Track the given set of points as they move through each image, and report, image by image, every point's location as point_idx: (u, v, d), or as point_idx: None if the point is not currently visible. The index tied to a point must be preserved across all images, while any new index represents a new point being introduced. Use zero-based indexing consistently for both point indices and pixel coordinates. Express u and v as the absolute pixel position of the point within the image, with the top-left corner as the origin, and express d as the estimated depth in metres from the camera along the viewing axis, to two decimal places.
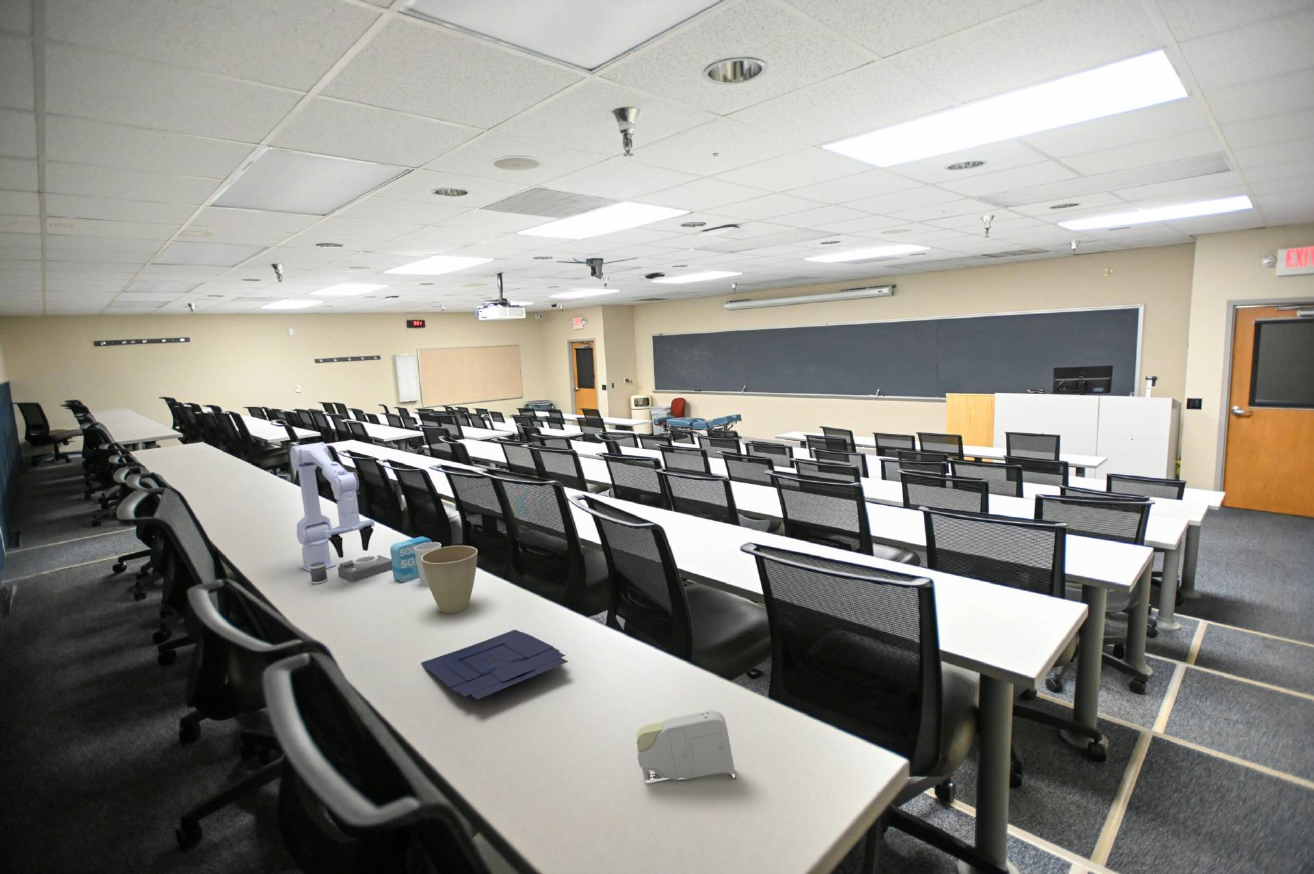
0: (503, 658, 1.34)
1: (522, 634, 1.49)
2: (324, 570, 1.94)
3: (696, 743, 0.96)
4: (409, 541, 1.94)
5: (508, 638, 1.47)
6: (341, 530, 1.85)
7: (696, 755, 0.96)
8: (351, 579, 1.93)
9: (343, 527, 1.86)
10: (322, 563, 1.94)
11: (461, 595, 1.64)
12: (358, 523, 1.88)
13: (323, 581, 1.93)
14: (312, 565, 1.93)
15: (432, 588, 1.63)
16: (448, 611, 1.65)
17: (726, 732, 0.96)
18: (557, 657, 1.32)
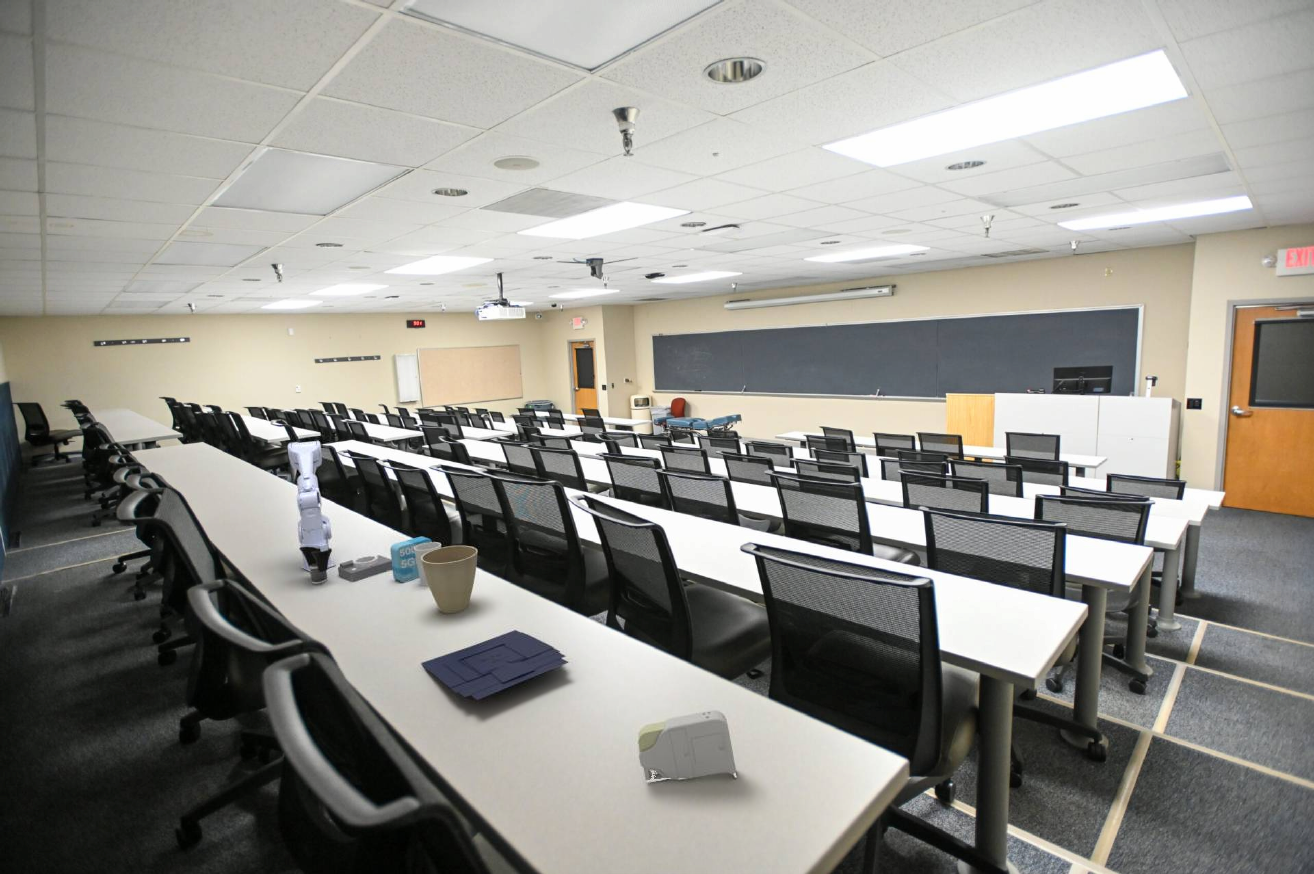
0: (503, 658, 1.34)
1: (522, 634, 1.49)
2: None
3: (697, 743, 0.96)
4: (409, 541, 1.94)
5: (508, 639, 1.47)
6: None
7: (697, 755, 0.96)
8: (351, 579, 1.93)
9: None
10: None
11: (461, 595, 1.64)
12: (309, 542, 1.90)
13: (323, 581, 1.93)
14: (312, 565, 1.93)
15: (432, 588, 1.63)
16: (448, 611, 1.65)
17: (727, 732, 0.96)
18: (558, 658, 1.32)
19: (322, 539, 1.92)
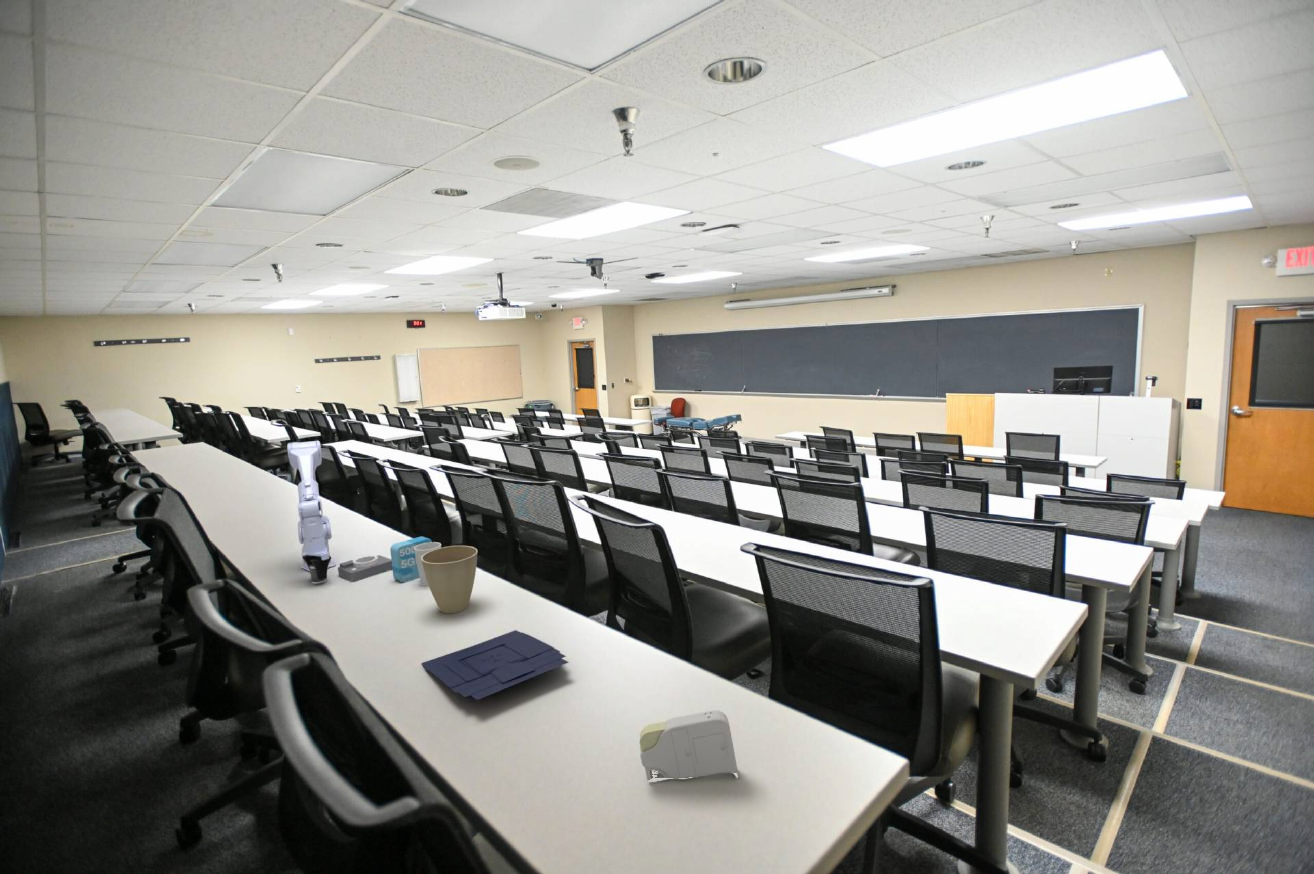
0: (503, 658, 1.34)
1: (523, 635, 1.49)
2: None
3: (699, 743, 0.96)
4: (409, 541, 1.94)
5: (508, 639, 1.47)
6: None
7: (698, 755, 0.96)
8: (351, 579, 1.93)
9: None
10: None
11: (461, 595, 1.64)
12: (310, 551, 1.90)
13: (323, 581, 1.93)
14: (312, 565, 1.93)
15: (432, 588, 1.63)
16: (448, 611, 1.65)
17: (729, 732, 0.96)
18: (558, 658, 1.31)
19: (323, 547, 1.93)
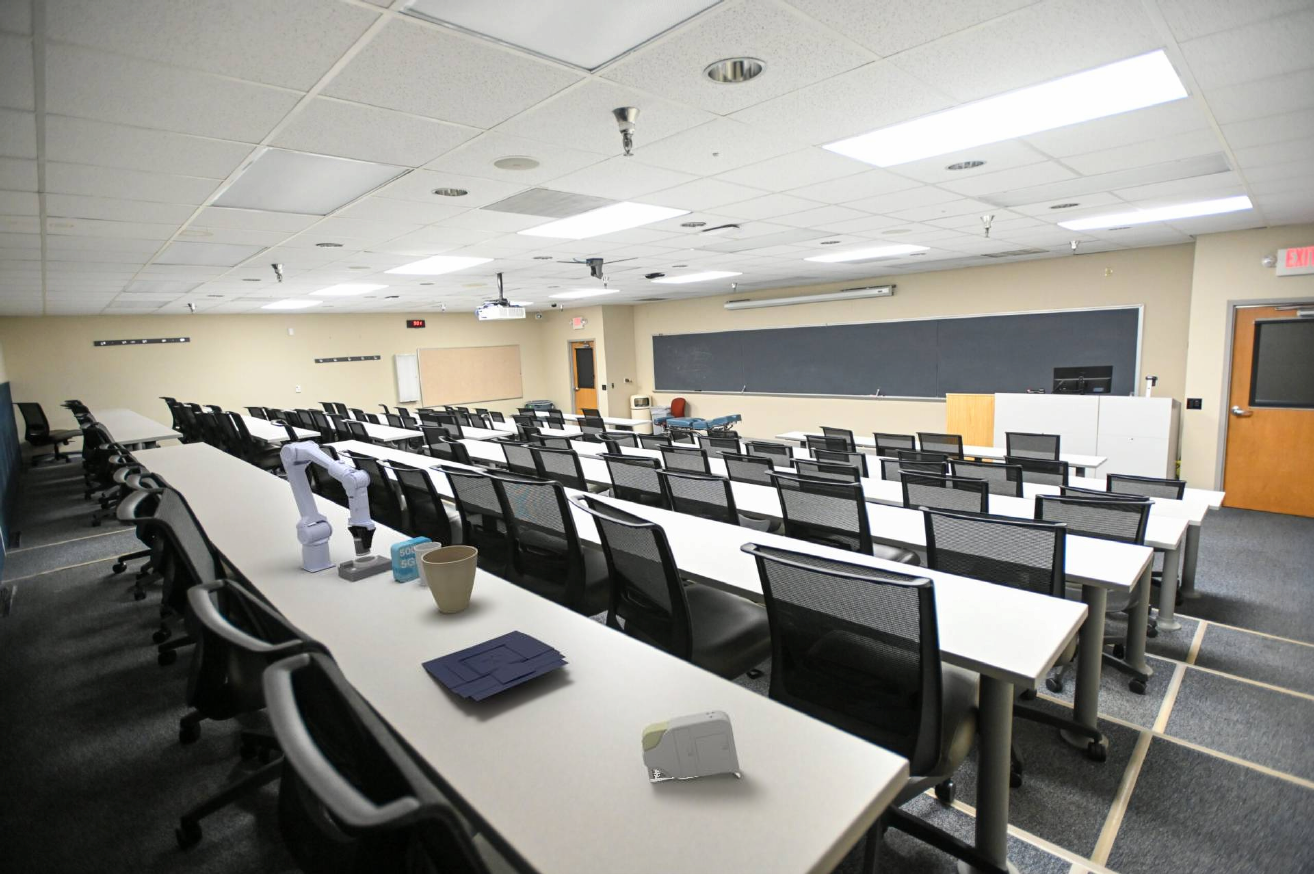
0: (504, 659, 1.34)
1: (523, 635, 1.48)
2: None
3: (701, 743, 0.96)
4: (409, 541, 1.94)
5: (509, 639, 1.47)
6: (350, 521, 2.00)
7: (701, 754, 0.96)
8: (351, 579, 1.93)
9: None
10: None
11: (461, 595, 1.64)
12: (356, 521, 1.96)
13: (366, 553, 1.99)
14: (355, 537, 1.98)
15: (432, 588, 1.63)
16: (448, 611, 1.65)
17: (731, 732, 0.96)
18: (558, 659, 1.31)
19: (368, 518, 1.99)
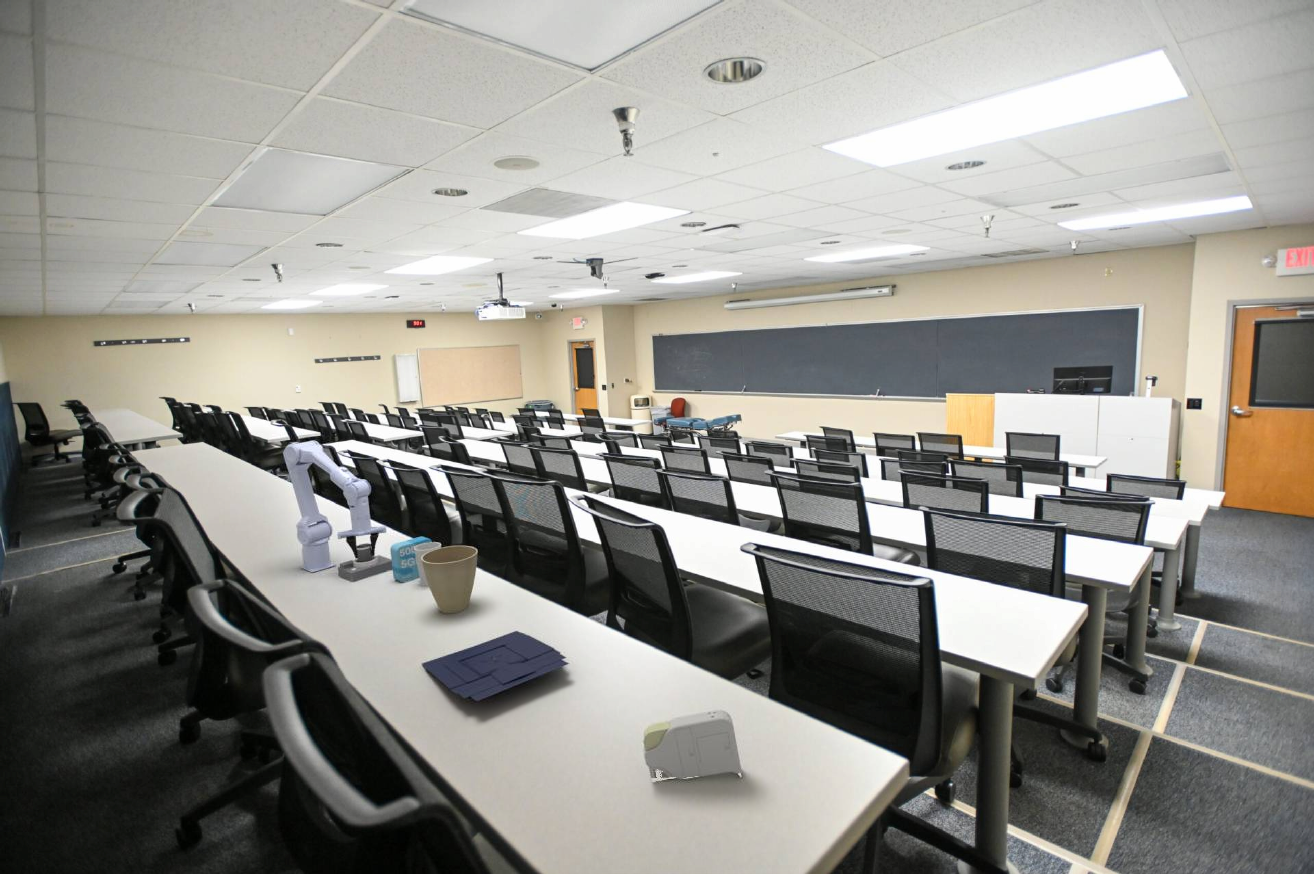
0: (504, 659, 1.34)
1: (523, 635, 1.48)
2: None
3: (702, 743, 0.96)
4: (409, 541, 1.94)
5: (509, 640, 1.46)
6: (349, 534, 1.96)
7: (702, 754, 0.96)
8: (351, 579, 1.93)
9: (352, 531, 1.97)
10: (366, 544, 2.01)
11: (461, 595, 1.64)
12: (366, 529, 1.98)
13: None
14: (362, 547, 1.98)
15: (432, 588, 1.63)
16: (448, 611, 1.65)
17: (733, 731, 0.96)
18: (558, 659, 1.31)
19: None
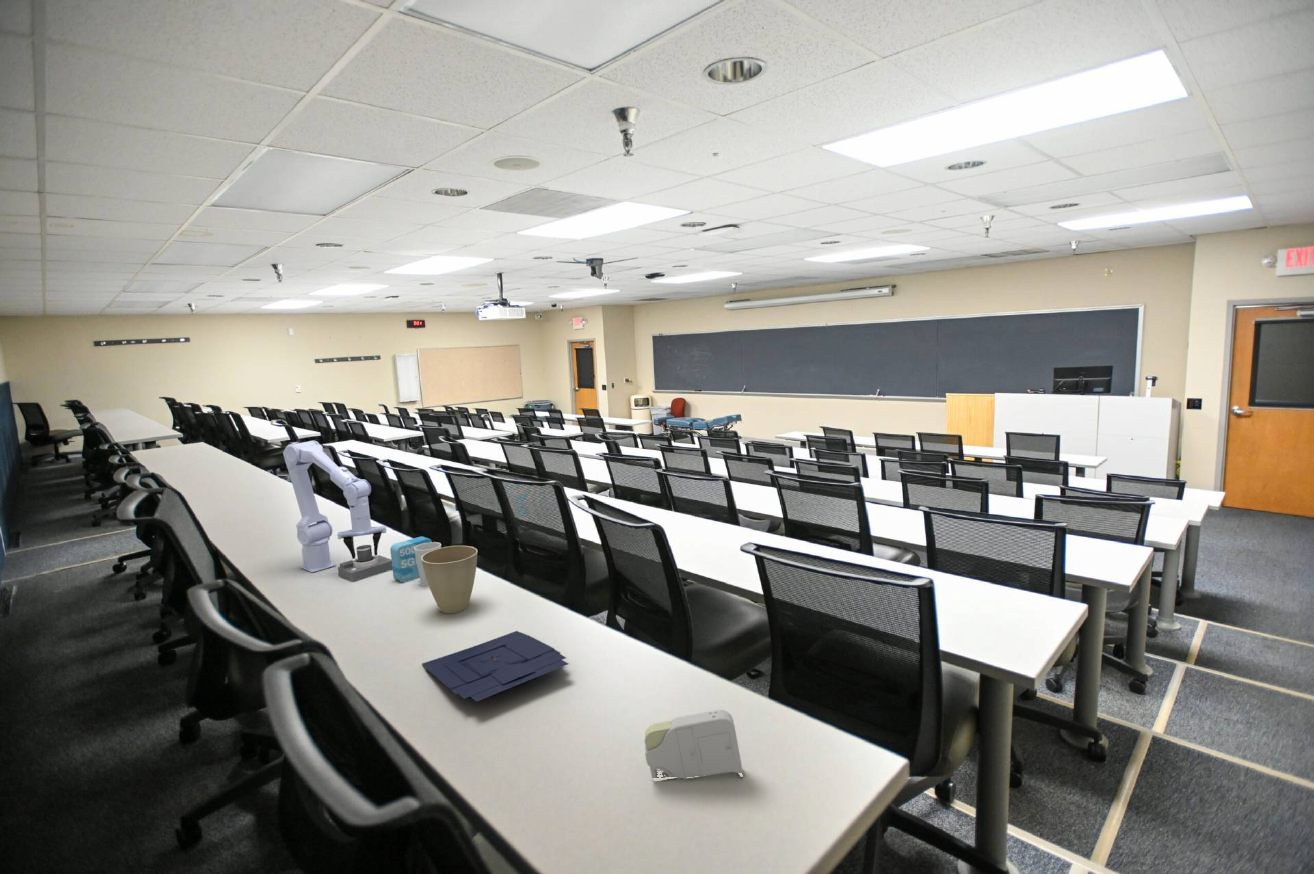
0: (504, 659, 1.34)
1: (523, 635, 1.48)
2: None
3: (704, 742, 0.96)
4: (409, 541, 1.94)
5: (509, 640, 1.46)
6: (349, 534, 1.96)
7: (703, 754, 0.96)
8: (351, 579, 1.93)
9: (352, 531, 1.97)
10: (366, 545, 2.01)
11: (461, 595, 1.64)
12: (366, 529, 1.98)
13: None
14: (362, 548, 1.98)
15: (432, 588, 1.63)
16: (448, 611, 1.65)
17: (734, 731, 0.96)
18: (558, 659, 1.31)
19: None
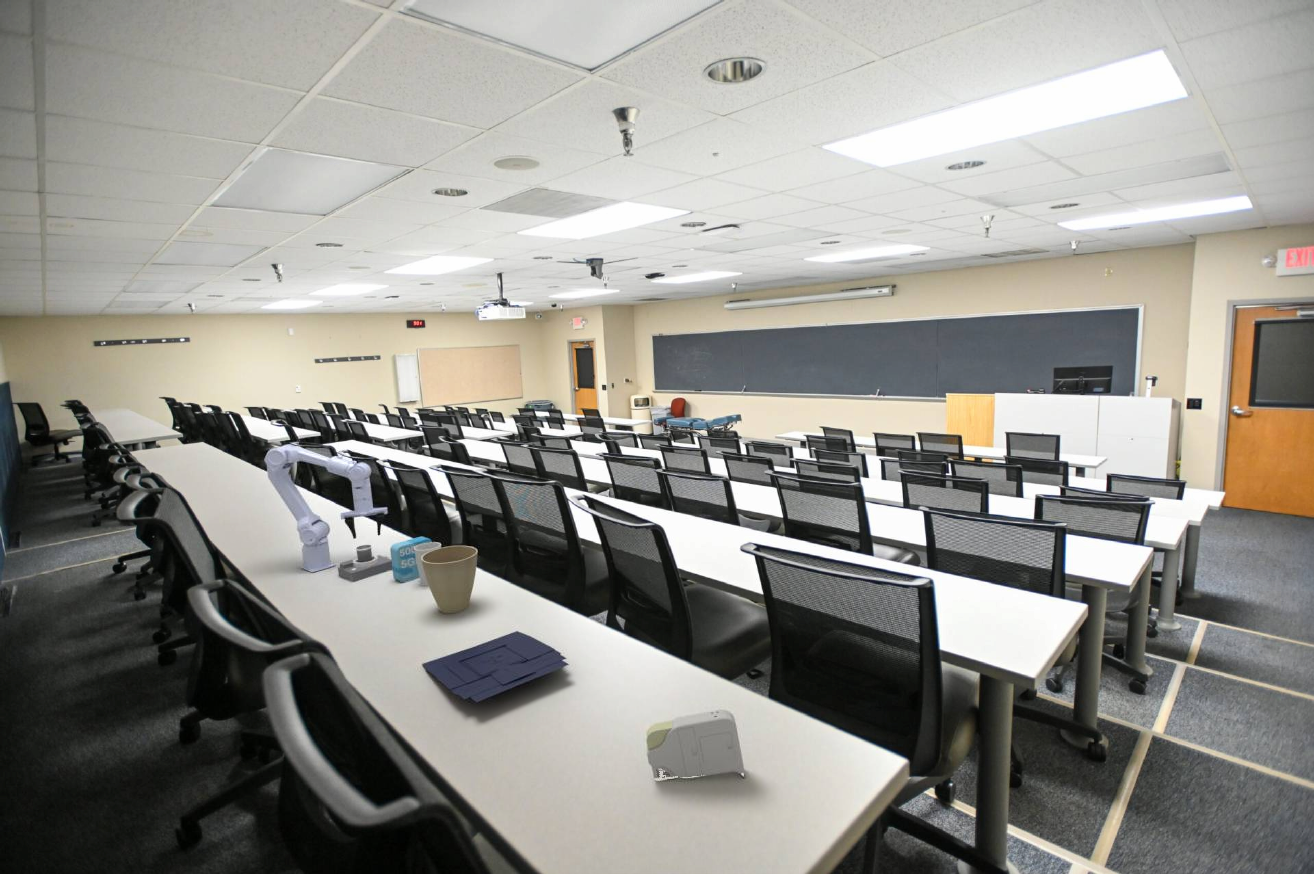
0: (504, 660, 1.34)
1: (524, 636, 1.48)
2: None
3: (705, 742, 0.96)
4: (409, 541, 1.94)
5: (509, 640, 1.46)
6: (352, 514, 2.05)
7: (705, 754, 0.96)
8: (351, 579, 1.93)
9: (355, 511, 2.05)
10: (366, 545, 2.01)
11: (461, 595, 1.64)
12: (368, 509, 2.06)
13: None
14: (362, 548, 1.98)
15: (432, 588, 1.63)
16: (448, 611, 1.65)
17: (736, 731, 0.96)
18: (558, 660, 1.31)
19: None
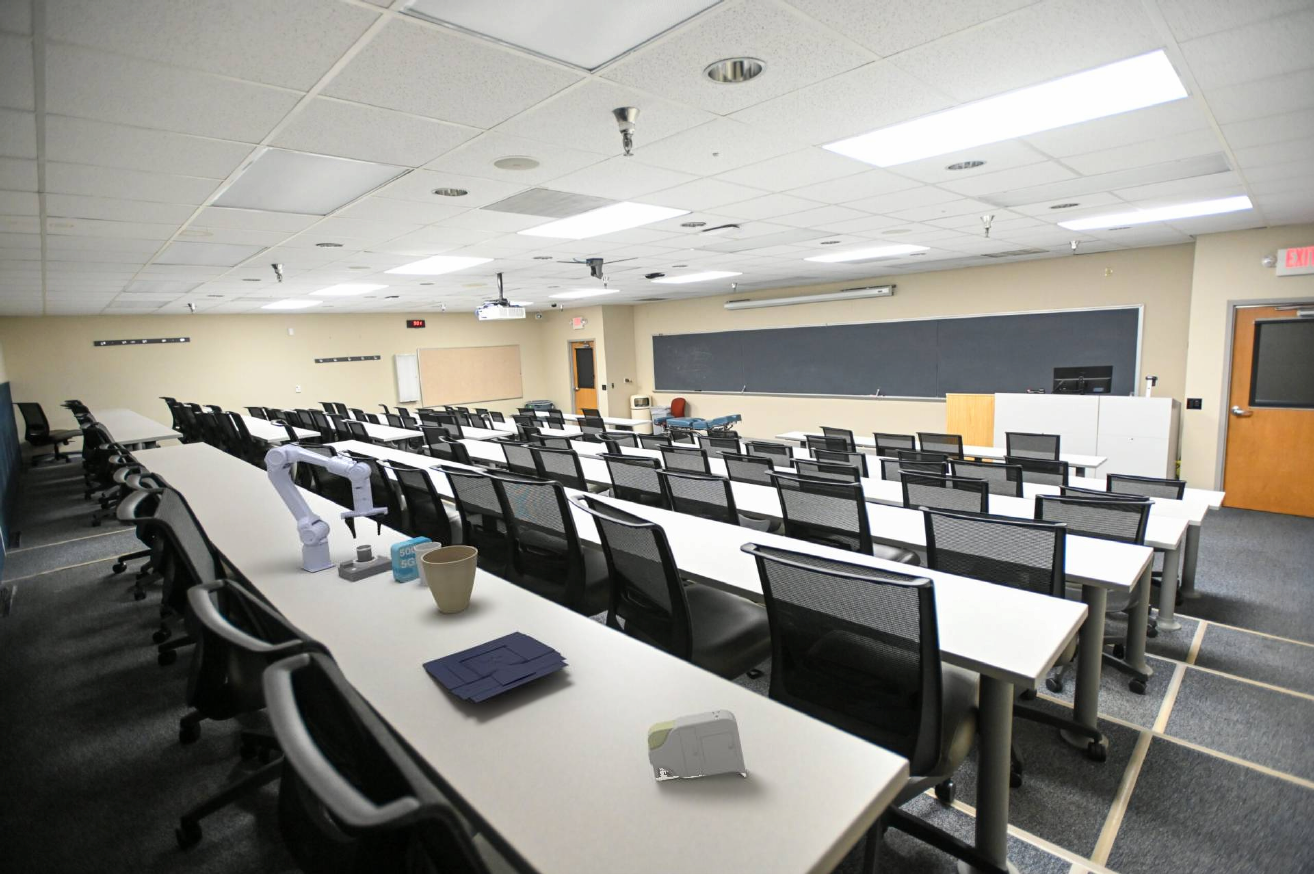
0: (504, 660, 1.33)
1: (524, 636, 1.48)
2: None
3: (706, 742, 0.96)
4: (409, 541, 1.94)
5: (509, 640, 1.46)
6: (352, 514, 2.05)
7: (706, 753, 0.96)
8: (351, 579, 1.93)
9: (355, 511, 2.05)
10: (366, 545, 2.01)
11: (461, 595, 1.64)
12: (368, 509, 2.06)
13: None
14: (362, 548, 1.98)
15: (432, 588, 1.63)
16: (448, 611, 1.65)
17: (737, 731, 0.96)
18: (558, 660, 1.31)
19: None
